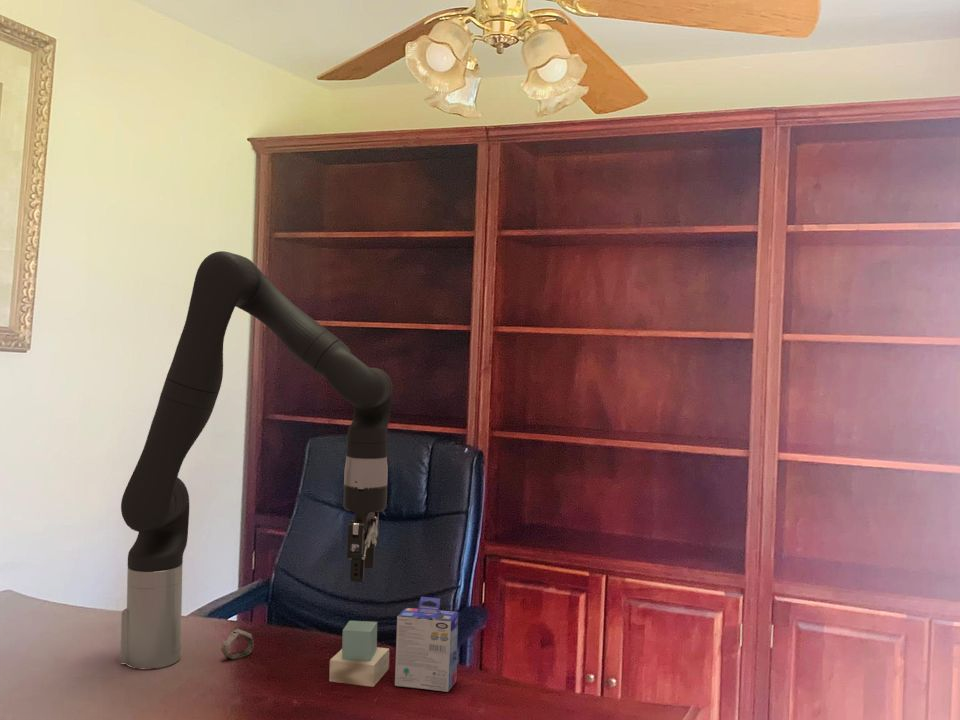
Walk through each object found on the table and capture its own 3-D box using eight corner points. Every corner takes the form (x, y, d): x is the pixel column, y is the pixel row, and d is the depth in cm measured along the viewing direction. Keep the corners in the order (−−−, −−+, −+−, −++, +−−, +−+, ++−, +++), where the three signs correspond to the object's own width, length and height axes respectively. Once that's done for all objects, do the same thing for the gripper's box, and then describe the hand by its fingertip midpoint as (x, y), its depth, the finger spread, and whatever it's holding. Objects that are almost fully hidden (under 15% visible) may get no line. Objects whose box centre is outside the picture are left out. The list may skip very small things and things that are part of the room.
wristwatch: (257, 654, 152) (257, 627, 152) (229, 664, 147) (229, 636, 147) (244, 649, 154) (245, 623, 154) (217, 659, 149) (217, 631, 149)
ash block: (329, 683, 141) (329, 660, 141) (346, 665, 149) (347, 643, 149) (373, 688, 139) (373, 665, 139) (388, 670, 147) (389, 648, 147)
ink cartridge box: (457, 680, 143) (460, 597, 143) (450, 693, 138) (452, 607, 137) (403, 674, 145) (405, 592, 145) (393, 687, 140) (396, 602, 139)
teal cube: (342, 659, 142) (342, 630, 141) (349, 648, 147) (349, 620, 146) (370, 660, 141) (371, 631, 141) (376, 649, 146) (377, 622, 146)
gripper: (353, 474, 151) (350, 562, 151) (334, 488, 137) (331, 584, 137) (394, 476, 150) (391, 564, 151) (378, 490, 136) (375, 587, 136)
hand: (362, 574), depth 144 cm, fingers open, 8 cm apart
